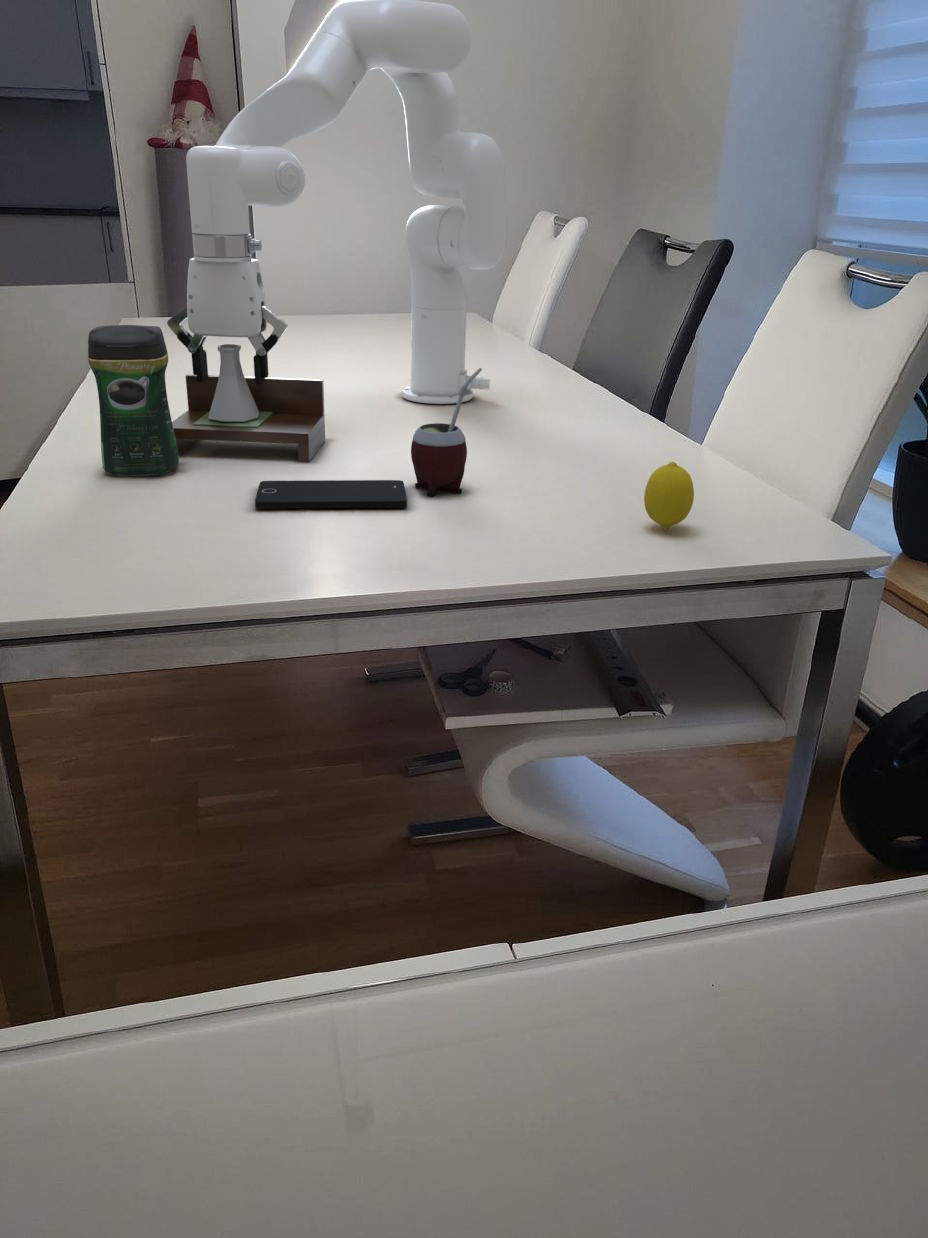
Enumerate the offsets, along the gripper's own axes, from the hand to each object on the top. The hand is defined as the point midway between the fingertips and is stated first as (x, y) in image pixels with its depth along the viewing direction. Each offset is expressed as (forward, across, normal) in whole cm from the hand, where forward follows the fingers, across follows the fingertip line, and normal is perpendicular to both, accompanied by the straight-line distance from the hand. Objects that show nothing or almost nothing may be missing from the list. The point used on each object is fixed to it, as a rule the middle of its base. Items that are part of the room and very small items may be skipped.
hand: (231, 380), depth 141 cm
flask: (+5, 0, 0) cm, 5 cm away
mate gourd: (+10, -31, +16) cm, 36 cm away
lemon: (+10, -58, +28) cm, 65 cm away
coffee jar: (+10, +9, +14) cm, 19 cm away
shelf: (+9, -2, 0) cm, 10 cm away
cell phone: (+9, -18, +22) cm, 30 cm away
